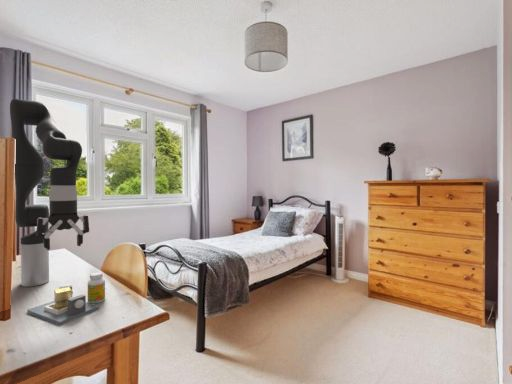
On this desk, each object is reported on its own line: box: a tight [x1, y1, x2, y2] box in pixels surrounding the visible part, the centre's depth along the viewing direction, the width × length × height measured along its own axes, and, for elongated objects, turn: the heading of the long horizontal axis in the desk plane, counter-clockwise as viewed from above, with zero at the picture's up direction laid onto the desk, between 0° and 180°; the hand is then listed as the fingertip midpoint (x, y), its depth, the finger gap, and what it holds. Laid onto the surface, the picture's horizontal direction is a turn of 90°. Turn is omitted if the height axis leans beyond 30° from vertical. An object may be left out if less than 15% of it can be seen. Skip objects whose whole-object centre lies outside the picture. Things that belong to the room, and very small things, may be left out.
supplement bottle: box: [87, 271, 106, 304], centre depth 99 cm, size 5×5×10 cm
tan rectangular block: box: [53, 287, 73, 310], centre depth 90 cm, size 4×4×6 cm
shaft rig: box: [26, 285, 99, 326], centre depth 90 cm, size 18×12×6 cm, turn 64°
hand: (64, 247), depth 91 cm, fingers open, 8 cm apart
